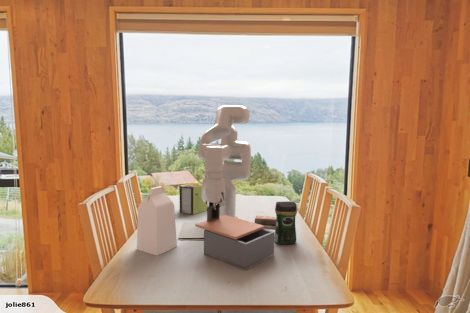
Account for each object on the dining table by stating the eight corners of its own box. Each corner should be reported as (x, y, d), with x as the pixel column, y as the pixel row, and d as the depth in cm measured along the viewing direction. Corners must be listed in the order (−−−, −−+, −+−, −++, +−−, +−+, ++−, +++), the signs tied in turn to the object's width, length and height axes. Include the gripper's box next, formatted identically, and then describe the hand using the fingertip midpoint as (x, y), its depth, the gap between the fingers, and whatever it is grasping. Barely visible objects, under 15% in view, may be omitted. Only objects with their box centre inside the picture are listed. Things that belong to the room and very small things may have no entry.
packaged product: (253, 219, 175) (255, 213, 185) (253, 228, 176) (255, 222, 186) (289, 221, 173) (290, 215, 182) (289, 230, 173) (289, 224, 183)
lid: (195, 226, 145) (195, 209, 144) (224, 216, 158) (225, 201, 157) (235, 239, 130) (236, 221, 129) (264, 228, 144) (264, 211, 143)
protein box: (209, 208, 208) (210, 183, 206) (193, 215, 195) (193, 187, 193) (195, 206, 214) (196, 181, 212) (179, 212, 201) (178, 185, 199)
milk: (156, 255, 140) (156, 192, 137) (136, 249, 146) (135, 188, 143) (177, 246, 150) (176, 186, 147) (157, 240, 156) (156, 183, 153)
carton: (203, 253, 143) (204, 230, 141) (232, 241, 156) (233, 220, 155) (245, 270, 128) (246, 244, 127) (273, 255, 142) (274, 232, 141)
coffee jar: (293, 238, 161) (294, 199, 159) (297, 245, 154) (299, 204, 151) (272, 239, 161) (273, 199, 158) (276, 245, 153) (277, 204, 150)
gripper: (194, 173, 150) (194, 215, 152) (221, 178, 140) (220, 223, 142) (206, 171, 156) (206, 211, 158) (233, 176, 145) (232, 219, 148)
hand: (213, 217), depth 150 cm, fingers closed on lid
